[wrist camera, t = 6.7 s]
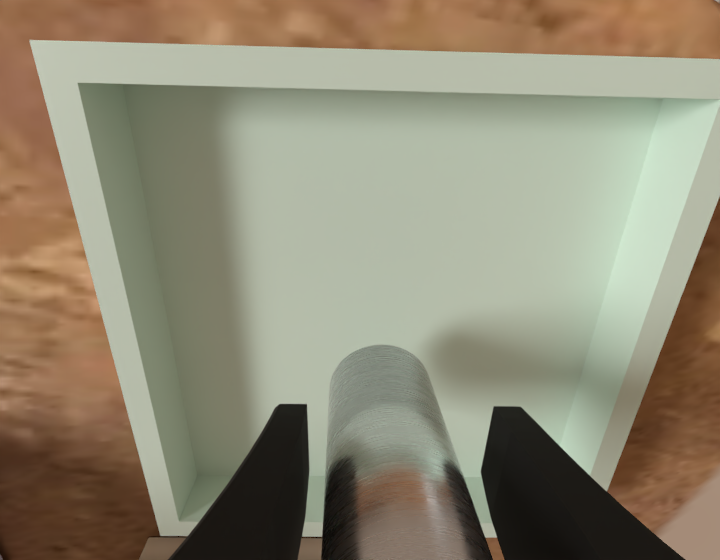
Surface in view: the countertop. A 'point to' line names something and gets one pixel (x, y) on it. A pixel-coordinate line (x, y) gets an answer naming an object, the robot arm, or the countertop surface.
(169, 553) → the pin collar
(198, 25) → the countertop surface
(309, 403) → the tray
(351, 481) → the pin
